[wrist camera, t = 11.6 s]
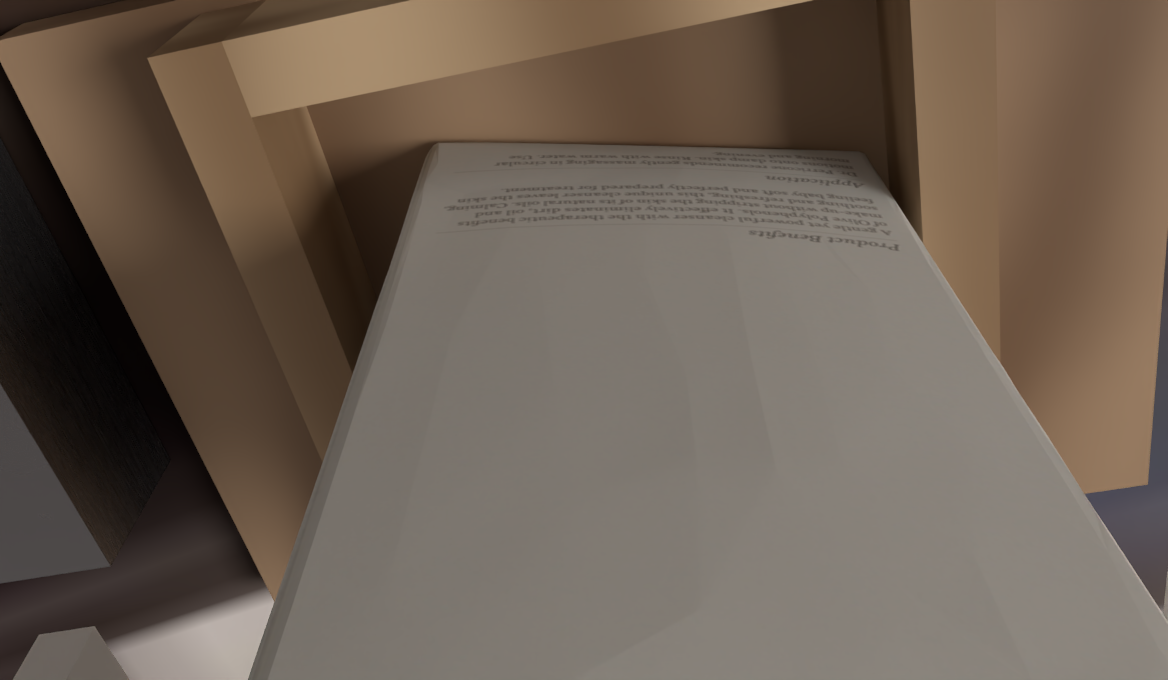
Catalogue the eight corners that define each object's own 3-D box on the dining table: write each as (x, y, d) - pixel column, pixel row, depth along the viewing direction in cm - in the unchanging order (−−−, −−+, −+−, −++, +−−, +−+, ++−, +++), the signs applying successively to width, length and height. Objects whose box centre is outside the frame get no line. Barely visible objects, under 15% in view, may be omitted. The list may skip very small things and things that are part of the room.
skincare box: (439, 412, 22) (193, 1468, 9) (424, 110, 19) (-7, 1108, 6) (836, 427, 22) (1165, 1505, 9) (894, 127, 19) (1559, 1166, 6)
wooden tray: (291, 574, 27) (249, 694, 23) (22, 22, 19) (-90, 89, 16) (1124, 450, 24) (1202, 566, 21) (1168, -238, 17) (1295, -219, 14)
